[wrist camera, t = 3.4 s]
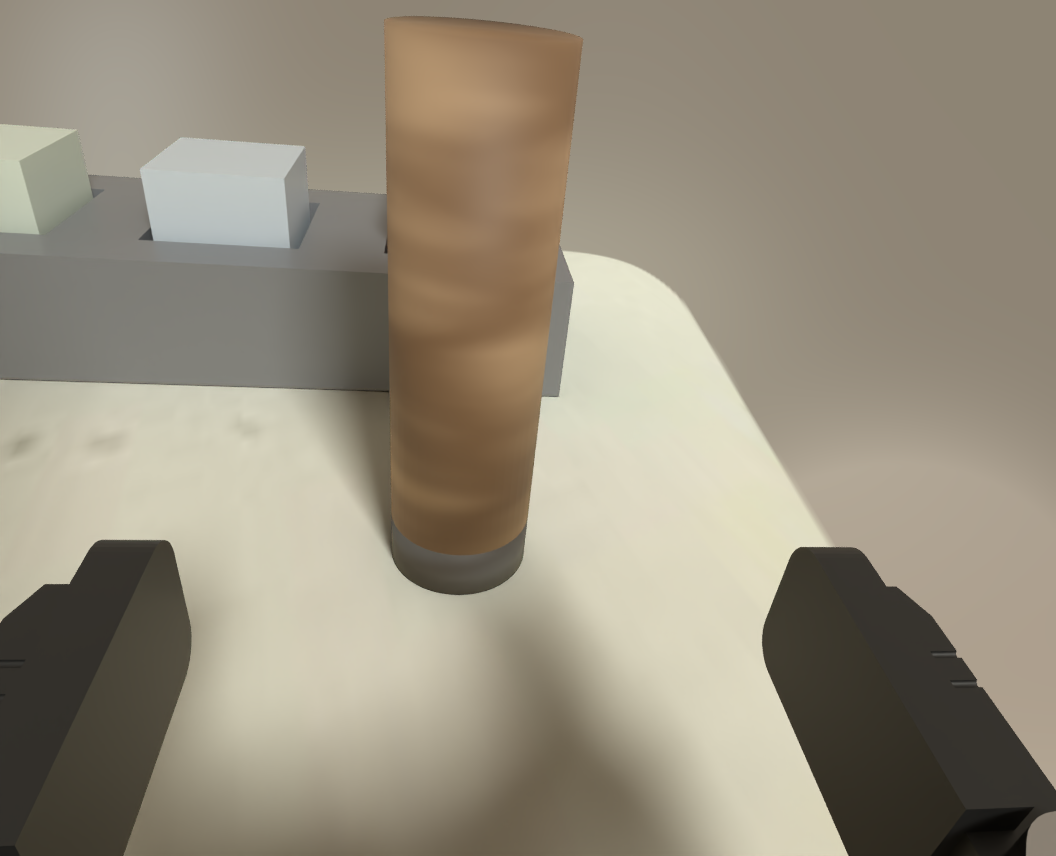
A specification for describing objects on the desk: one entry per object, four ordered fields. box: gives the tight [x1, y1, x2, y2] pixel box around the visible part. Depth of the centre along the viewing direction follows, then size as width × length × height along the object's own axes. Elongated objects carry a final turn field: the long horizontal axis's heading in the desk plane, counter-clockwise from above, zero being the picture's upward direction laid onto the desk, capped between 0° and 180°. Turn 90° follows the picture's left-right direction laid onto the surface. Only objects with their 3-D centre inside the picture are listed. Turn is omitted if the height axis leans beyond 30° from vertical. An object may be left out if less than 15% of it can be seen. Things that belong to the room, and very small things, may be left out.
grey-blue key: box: [140, 137, 310, 249], centre depth 30 cm, size 5×5×4 cm
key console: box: [0, 175, 574, 396], centre depth 32 cm, size 27×10×5 cm, turn 95°
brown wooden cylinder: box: [384, 16, 583, 595], centre depth 19 cm, size 4×4×14 cm
